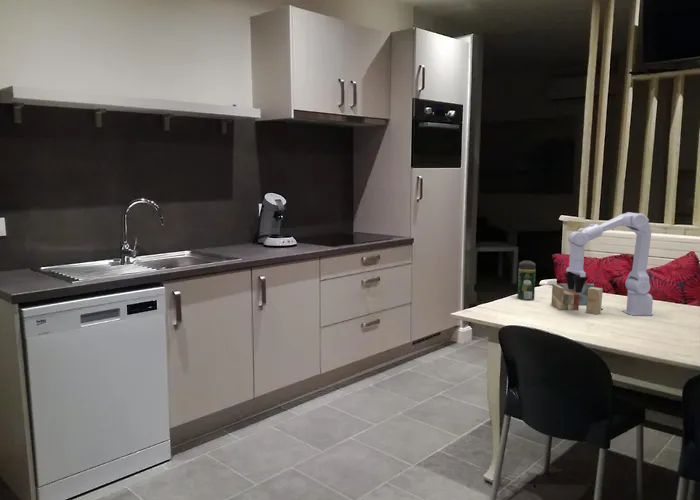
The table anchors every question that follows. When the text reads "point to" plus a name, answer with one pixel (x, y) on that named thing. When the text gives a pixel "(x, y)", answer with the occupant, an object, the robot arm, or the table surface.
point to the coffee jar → (526, 280)
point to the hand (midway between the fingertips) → (574, 290)
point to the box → (594, 300)
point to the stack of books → (569, 297)
